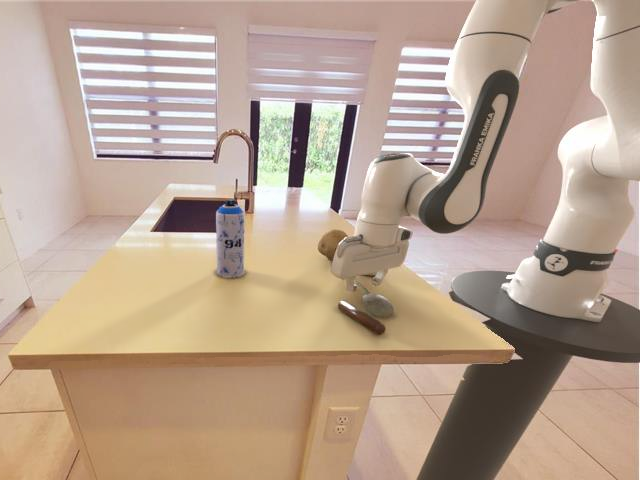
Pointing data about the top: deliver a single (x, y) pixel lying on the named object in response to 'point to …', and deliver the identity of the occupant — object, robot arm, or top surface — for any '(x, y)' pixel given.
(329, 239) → the potato
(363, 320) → the walnut dowel
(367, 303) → the soupspoon
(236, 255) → the aerosol can
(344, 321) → the top surface
